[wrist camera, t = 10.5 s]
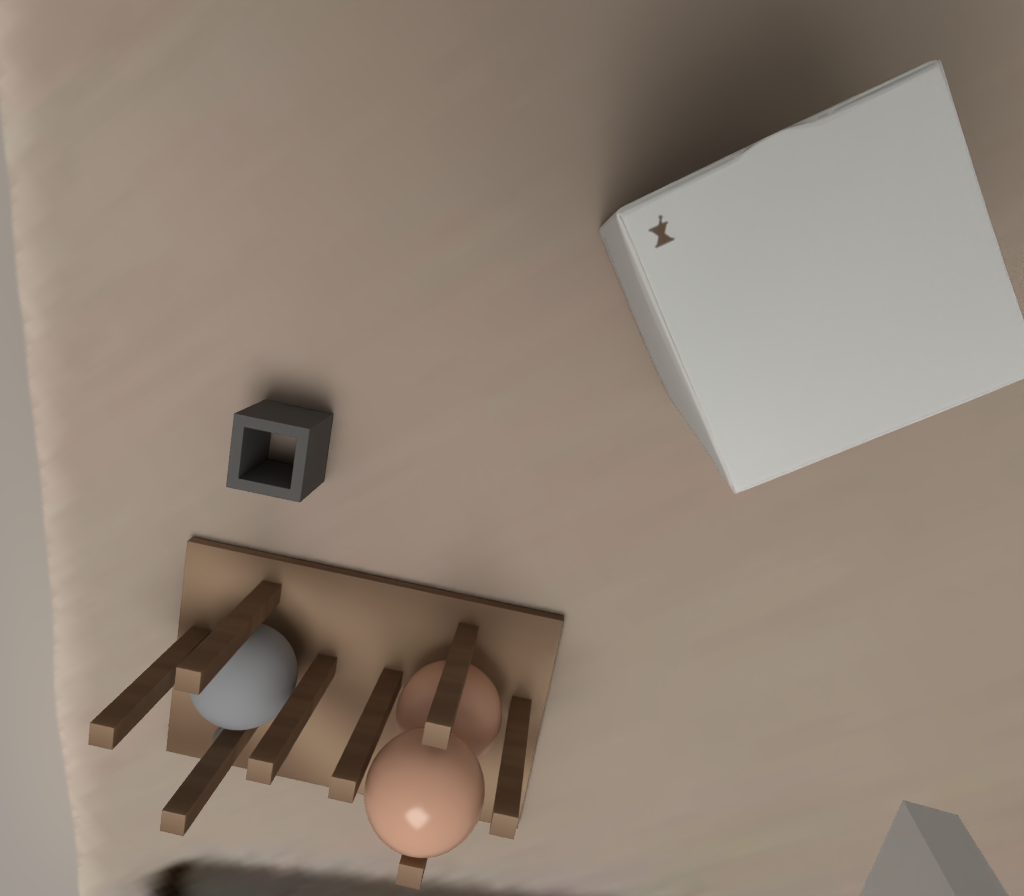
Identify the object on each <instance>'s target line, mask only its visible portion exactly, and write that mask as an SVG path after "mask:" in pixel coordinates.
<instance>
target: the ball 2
mask: <svg viewBox="0 0 1024 896" xmlns="http://www.w3.org/2000/svg"><path fill="white" fill-rule="evenodd" d="M445 663H446V660H441V661H437V662H433V663H431V664H428V665H426V666H424V667H423V668H421V669H420V670H419V671H417V672H416V673H415V674H414V675H413V676H412V677H411V678H410V679H409V680H408V682H407V683H406V684H405V686H404V688H403V690H402V692H401V694H400V696H399V700H398V703H397V709H396V725H397V730H398V733H399V734H401V733H403V732H406V731H408V730H411V729H416V728H423V727H425V723H426V719H427V716H428V713H429V710H430V707H431V704H432V702H433V699H434V696H435V693H436V690H437V687H438V684H439V681H440V678H441V675H442V672H443V669H444V666H445ZM501 722H502V706H501V701H500V697H499V694H498V691H497V689H496V687H495V685H494V684H493V682H492V681H491V680H490V678H489V677H488V676H487V675H486V674H485V673H484V672H483V671H482V670H480V669H479V668H477V667H476V666H474V665H472V664H470V666H469V670H468V674H467V677H466V681H465V685H464V688H463V692H462V695H461V699H460V703H459V706H458V710H457V714H456V717H455V721H454V725H453V728H452V732H451V733H453V734H454V735H456V736H458V737H459V738H460V739H462V740H463V741H464V742H465V743H466V744H467V745H468V746H469V747H470V748H471V749H472V751H473V752H474V753H475V755H476V757H477V759H478V761H479V760H480V759H481V758H483V757H484V756H485V755H486V754H487V753H488V751H489V750H490V749H491V747H492V746H493V744H494V743H495V741H496V739H497V737H498V734H499V731H500V727H501Z"/></svg>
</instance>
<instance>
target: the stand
mask: <svg viewBox="0 0 1024 896" xmlns="http://www.w3.org/2000/svg"><path fill="white" fill-rule="evenodd" d="M332 420H333V414H330V413H325V412H320V411H315V410H311V409H306V408H301V407H296V406H291V405H286V404H281V403H276V402H272V401H267V400H263V401H261V402H259V403H257V404H254V405H252V406H250V407H248V408H245V409H243V410H241V411H239V412H237V413H234V420H233V429H232V438H231V447H230V456H229V465H228V474H227V483H226V487H229V488H234V489H239V490H244V491H248V492H253V493H258V494H263V495H267V496H272V497H277V498H282V499H286V500H291V501H296V502H301V501H302V500H303V499H304V498H305V497H307V496H308V495H309V494H310V493H311V492H312V491H313V490H315V489H316V488H317V487H318V486H319V485H320V484H322V483H323V482H324V477H325V470H326V463H327V456H328V449H329V442H330V435H331V427H332ZM271 433H276V434H281V435H286V436H291V437H296V438H297V442H296V450H295V458H294V465H291V464H286V463H281V462H276V461H271V460H268V451H269V443H270V435H271Z"/></svg>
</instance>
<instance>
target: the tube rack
mask: <svg viewBox="0 0 1024 896" xmlns="http://www.w3.org/2000/svg"><path fill="white" fill-rule="evenodd" d="M261 623H262V624H265V625H267V626H270V627H272V628H273V629H275V630H277V631H278V632H279V633H281V634H282V635H283V636H284V637H285V638H286V639H287V641H288V642H289V643H290V645H291V647H292V649H293V651H294V653H295V656H296V660H297V665H298V678H297V683H296V687H295V689H294V691H293V692H292V694H291V695H290V697H289V698H288V700H287V701H286V703H285V704H284V706H283V707H282V709H281V710H280V712H279V713H278V715H277V716H276V717H275V718H273V719H272V720H270V721H269V722H267V723H265V724H263V725H261V726H259V727H256V728H252V729H247V730H229V729H224V728H221V727H218V726H216V725H214V724H212V723H210V722H209V721H208V720H206V719H205V718H204V717H203V716H202V715H201V714H200V713H199V712H198V711H197V709H196V708H195V706H194V704H193V702H192V700H191V697H190V694H189V693H191V694H195V695H199V694H200V693H201V692H202V691H203V690H204V688H205V687H206V686H207V685H208V684H209V683H210V682H211V681H212V679H213V678H214V677H215V676H216V675H217V674H218V673H219V671H220V670H221V669H222V668H223V667H224V666H225V665H226V663H227V662H228V661H229V660H230V659H231V658H232V657H233V655H234V654H235V653H236V652H237V651H238V650H239V649H240V647H241V646H242V645H243V644H244V643H245V642H246V641H247V639H248V638H249V637H250V636H251V635H252V634H253V633H254V631H255V630H256V629H257V628H258V627H259V626H260V625H261ZM563 623H564V616H561V615H556V614H552V613H547V612H542V611H538V610H533V609H528V608H524V607H519V606H514V605H509V604H505V603H500V602H495V601H491V600H486V599H481V598H477V597H472V596H467V595H462V594H458V593H453V592H448V591H444V590H439V589H434V588H429V587H425V586H420V585H415V584H411V583H406V582H401V581H397V580H392V579H387V578H382V577H378V576H373V575H368V574H364V573H359V572H354V571H350V570H345V569H340V568H335V567H331V566H326V565H321V564H317V563H312V562H307V561H302V560H298V559H293V558H288V557H284V556H279V555H274V554H270V553H265V552H260V551H255V550H251V549H246V548H241V547H237V546H232V545H227V544H223V543H218V542H213V541H208V540H204V539H199V538H194V537H192V538H191V539H190V540H188V541H187V549H186V559H185V569H184V579H183V589H182V599H181V609H180V619H179V629H178V639H177V641H176V642H175V643H174V644H173V645H172V646H171V647H170V648H169V649H168V650H167V651H165V652H164V653H163V654H162V655H161V656H160V657H159V658H158V659H157V660H156V661H155V662H154V663H153V664H152V665H151V666H150V667H149V668H148V669H146V670H145V671H144V672H143V673H142V674H141V675H140V676H139V677H138V678H137V679H136V680H135V681H134V682H133V683H132V684H131V685H130V686H129V687H127V688H126V689H125V690H124V691H123V692H122V693H121V694H120V695H119V696H118V697H117V698H116V699H115V700H114V701H113V702H112V703H111V704H109V705H108V706H107V707H106V708H105V709H104V710H103V711H102V712H101V713H100V714H99V715H98V716H97V717H96V718H95V719H94V720H93V721H92V722H90V730H89V745H93V746H98V747H102V748H107V749H111V750H112V749H113V748H114V747H115V746H116V745H117V744H118V743H119V742H120V741H121V740H122V739H123V738H124V737H125V736H126V735H127V734H128V733H129V732H130V731H131V729H132V728H133V727H134V726H135V725H136V724H137V723H138V722H139V721H140V720H141V719H142V718H143V717H144V716H145V715H146V714H147V713H148V712H149V711H150V710H151V709H152V707H153V706H154V705H155V704H156V703H157V702H158V701H159V700H160V699H161V698H162V697H163V696H164V695H165V694H166V693H167V692H168V691H169V690H170V689H171V688H172V687H173V689H172V699H171V709H170V719H169V729H168V739H167V749H166V751H169V752H174V753H178V754H183V755H187V756H192V757H196V758H201V760H200V761H199V762H198V764H197V765H196V766H195V768H194V769H193V770H192V772H191V773H190V774H189V775H188V777H187V778H186V779H185V781H184V782H183V783H182V785H181V786H180V787H179V789H178V790H177V791H176V793H175V794H174V795H173V797H172V798H171V799H170V801H169V802H168V803H167V804H166V806H165V807H164V808H163V810H162V816H161V826H160V831H163V832H168V833H172V834H176V835H181V836H184V834H185V833H186V832H187V830H188V829H189V827H190V826H191V824H192V823H193V821H194V820H195V818H196V817H197V816H198V814H199V813H200V811H201V810H202V808H203V807H204V805H205V804H206V802H207V801H208V800H209V798H210V797H211V795H212V794H213V792H214V791H215V789H216V788H217V787H218V785H219V784H220V782H221V781H222V779H223V778H224V776H225V775H226V773H227V772H228V771H229V769H230V768H231V766H237V767H241V768H246V769H247V775H246V780H250V781H254V782H259V783H263V784H268V785H270V784H271V783H272V781H273V779H274V777H275V776H276V775H277V776H281V777H286V778H290V779H295V780H299V781H304V782H308V783H313V784H317V785H322V786H326V787H330V789H329V795H328V798H330V799H335V800H339V801H344V802H348V803H353V800H354V798H355V796H356V793H358V794H362V795H364V788H365V781H366V777H367V773H368V771H369V768H370V766H371V764H372V762H373V760H374V758H375V757H376V755H377V754H378V752H379V751H380V750H381V749H382V747H383V746H385V745H386V744H387V743H388V742H389V741H390V740H391V739H393V738H394V737H396V736H398V735H399V733H398V730H397V725H396V709H397V703H398V700H399V696H400V694H401V692H402V690H403V688H404V686H405V684H406V683H407V682H408V680H409V679H410V678H411V677H412V676H413V675H414V674H415V673H416V672H417V671H419V670H420V669H421V668H423V667H424V666H426V665H428V664H431V663H433V662H437V661H441V660H446V663H445V666H444V669H443V672H442V675H441V678H440V681H439V684H438V687H437V690H436V693H435V696H434V699H433V702H432V704H431V707H430V710H429V713H428V716H427V719H426V723H425V728H424V734H423V739H422V744H423V745H427V746H432V747H436V748H441V749H446V750H447V746H448V743H449V739H450V735H451V732H452V728H453V725H454V721H455V717H456V714H457V710H458V706H459V703H460V699H461V695H462V692H463V688H464V685H465V681H466V677H467V674H468V670H469V666H470V664H472V665H474V666H476V667H477V668H479V669H480V670H482V671H483V672H484V673H485V674H486V675H487V676H488V677H489V678H490V680H491V681H492V682H493V684H494V685H495V687H496V689H497V691H498V694H499V697H500V701H501V706H502V722H501V727H500V731H499V734H498V737H497V739H496V741H495V743H494V744H493V746H492V747H491V749H490V750H489V751H488V753H487V754H486V755H485V756H484V757H483V758H481V759H480V760H479V763H480V765H481V768H482V771H483V775H484V781H485V799H484V805H483V809H482V812H481V815H480V818H479V821H483V822H488V823H491V825H490V832H489V834H492V835H496V836H501V837H505V838H510V839H514V836H515V831H516V829H517V828H518V824H519V819H520V815H521V810H522V806H523V801H524V797H525V792H526V788H527V784H528V779H529V775H530V770H531V766H532V761H533V757H534V752H535V748H536V743H537V739H538V734H539V730H540V725H541V721H542V716H543V712H544V708H545V703H546V699H547V694H548V690H549V685H550V681H551V676H552V672H553V667H554V663H555V658H556V654H557V649H558V645H559V640H560V636H561V632H562V627H563ZM426 862H427V858H414V857H409V856H405V855H403V854H402V857H401V860H400V863H399V869H398V874H397V879H396V884H397V885H401V886H406V887H410V888H415V889H420V886H421V882H422V878H423V874H424V870H425V866H426Z"/></svg>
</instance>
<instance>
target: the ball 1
mask: <svg viewBox="0 0 1024 896" xmlns="http://www.w3.org/2000/svg"><path fill="white" fill-rule="evenodd" d="M297 678H298V665H297V660H296V656H295V653H294V651H293V649H292V647H291V645H290V643H289V642H288V641H287V639H286V638H285V637H284V636H283V635H282V634H281V633H279V632H278V631H277V630H275V629H273V628H272V627H270V626H267V625H265V624H262V623H261V625H260V626H259V627H258V628H257V629H256V630H255V631H254V633H253V634H252V635H251V636H250V637H249V638H248V639H247V641H246V642H245V643H244V644H243V645H242V646H241V647H240V649H239V650H238V651H237V652H236V653H235V654H234V655H233V657H232V658H231V659H230V660H229V661H228V662H227V663H226V665H225V666H224V667H223V668H222V669H221V670H220V671H219V673H218V674H217V675H216V676H215V677H214V678H213V679H212V681H211V682H210V683H209V684H208V685H207V686H206V687H205V688H204V690H203V691H202V692H201V693H200V694H199V695H195V694H191V693H189V694H190V697H191V700H192V702H193V704H194V706H195V708H196V709H197V711H198V712H199V713H200V714H201V715H202V716H203V717H204V718H205V719H206V720H208V721H209V722H210V723H212V724H214V725H216V726H218V727H221V728H224V729H229V730H247V729H252V728H256V727H259V726H261V725H263V724H265V723H267V722H269V721H270V720H272V719H273V718H275V717H276V716H277V715H278V713H279V712H280V710H281V709H282V707H283V706H284V704H285V703H286V701H287V700H288V698H289V697H290V695H291V694H292V692H293V691H294V689H295V687H296V683H297Z"/></svg>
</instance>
